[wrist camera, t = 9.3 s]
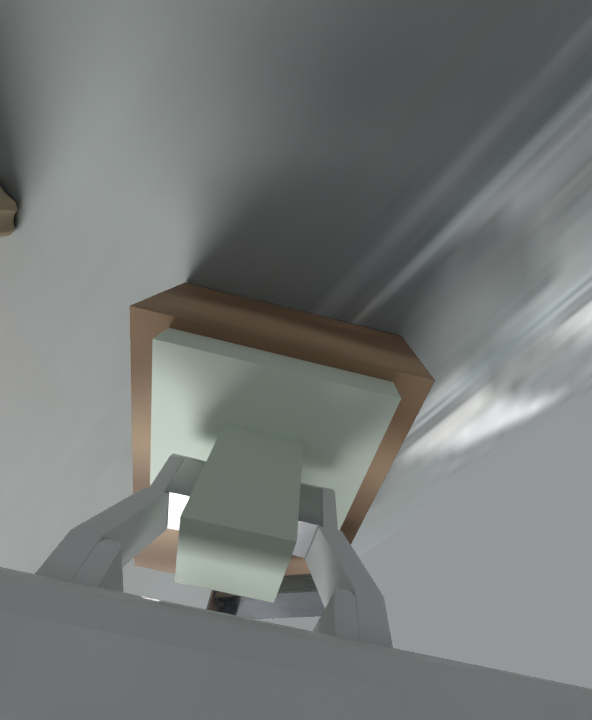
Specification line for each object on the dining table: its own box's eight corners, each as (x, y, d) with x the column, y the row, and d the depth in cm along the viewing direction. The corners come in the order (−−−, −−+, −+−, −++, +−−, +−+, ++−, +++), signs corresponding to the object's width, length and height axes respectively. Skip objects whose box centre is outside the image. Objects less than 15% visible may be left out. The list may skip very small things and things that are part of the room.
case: (185, 282, 15) (127, 306, 11) (400, 336, 16) (436, 382, 11) (171, 497, 22) (133, 568, 18) (319, 529, 23) (320, 607, 18)
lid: (168, 327, 11) (57, 402, 6) (393, 381, 11) (447, 492, 7) (161, 488, 15) (89, 610, 10) (330, 525, 15) (335, 660, 10)
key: (331, 515, 15) (356, 1032, 5) (352, 593, 17) (392, 1022, 8) (185, 529, 16) (-4, 965, 6) (226, 600, 19) (135, 977, 9)
